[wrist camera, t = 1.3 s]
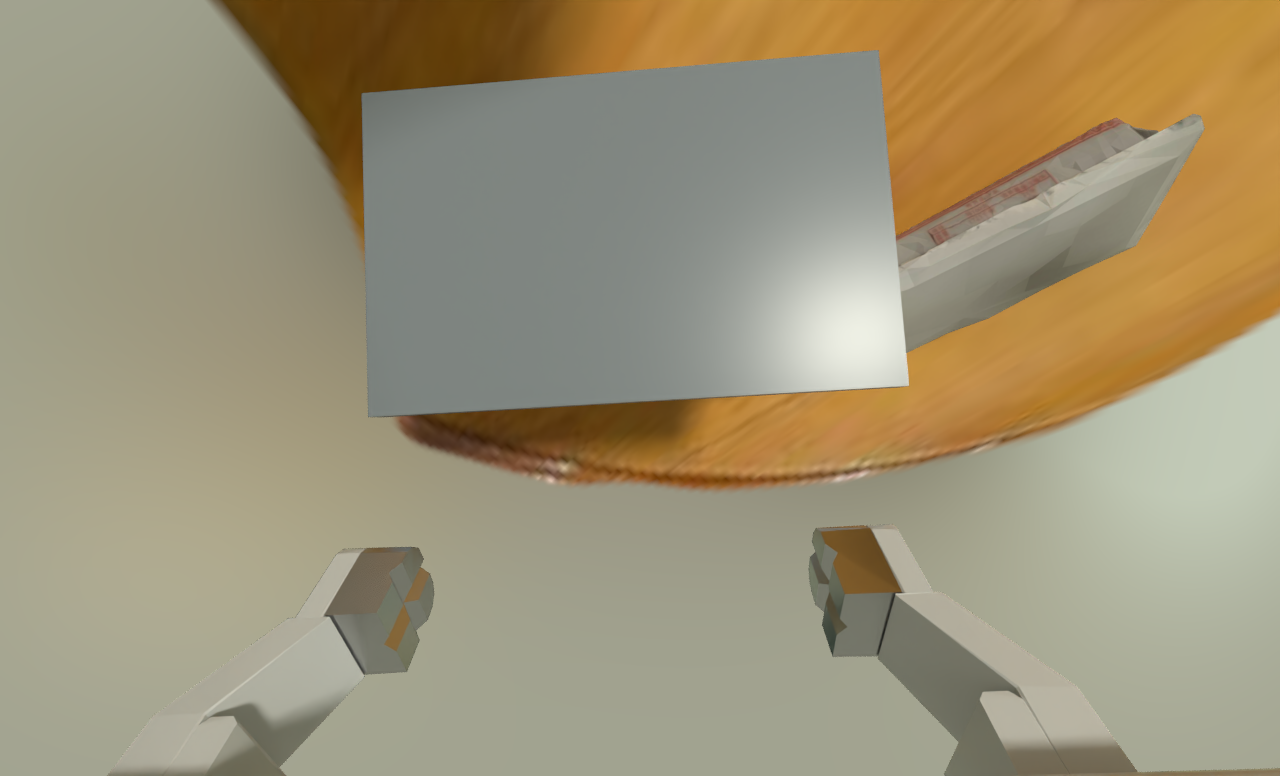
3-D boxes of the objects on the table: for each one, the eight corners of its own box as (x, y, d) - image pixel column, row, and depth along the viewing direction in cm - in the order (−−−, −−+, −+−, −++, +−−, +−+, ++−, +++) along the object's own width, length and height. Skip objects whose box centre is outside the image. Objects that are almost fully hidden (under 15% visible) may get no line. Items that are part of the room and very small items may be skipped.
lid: (374, 107, 24) (361, 93, 23) (869, 66, 23) (878, 50, 22) (381, 417, 23) (368, 416, 22) (898, 387, 22) (908, 385, 21)
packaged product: (1086, 197, 35) (1140, 69, 26) (1141, 249, 32) (1219, 126, 24) (826, 327, 39) (802, 254, 31) (857, 380, 37) (840, 316, 29)
